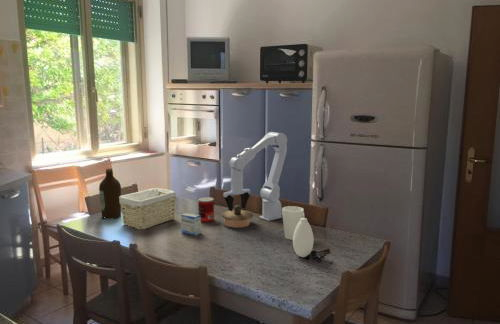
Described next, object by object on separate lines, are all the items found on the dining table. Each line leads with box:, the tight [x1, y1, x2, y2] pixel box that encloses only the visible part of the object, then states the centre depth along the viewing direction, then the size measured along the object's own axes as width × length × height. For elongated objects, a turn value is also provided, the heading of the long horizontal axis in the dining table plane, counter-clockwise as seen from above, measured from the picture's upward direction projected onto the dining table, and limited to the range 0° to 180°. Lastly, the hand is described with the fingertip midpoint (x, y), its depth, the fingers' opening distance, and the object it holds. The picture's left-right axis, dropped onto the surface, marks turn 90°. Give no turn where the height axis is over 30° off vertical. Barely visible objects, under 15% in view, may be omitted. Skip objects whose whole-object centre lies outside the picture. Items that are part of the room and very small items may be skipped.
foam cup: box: [281, 205, 305, 241], centre depth 187 cm, size 10×9×13 cm
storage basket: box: [119, 187, 177, 230], centre depth 209 cm, size 24×16×15 cm
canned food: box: [197, 196, 215, 223], centre depth 212 cm, size 8×8×11 cm
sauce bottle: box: [292, 212, 315, 258], centre depth 164 cm, size 8×8×18 cm
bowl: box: [224, 219, 251, 229], centre depth 207 cm, size 12×12×4 cm
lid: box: [221, 204, 254, 221], centre depth 206 cm, size 15×15×5 cm
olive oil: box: [98, 168, 122, 219], centre depth 217 cm, size 11×11×25 cm
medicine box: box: [180, 212, 202, 236], centre depth 193 cm, size 8×4×9 cm, turn 62°
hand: (237, 209), depth 206 cm, fingers open, 7 cm apart
